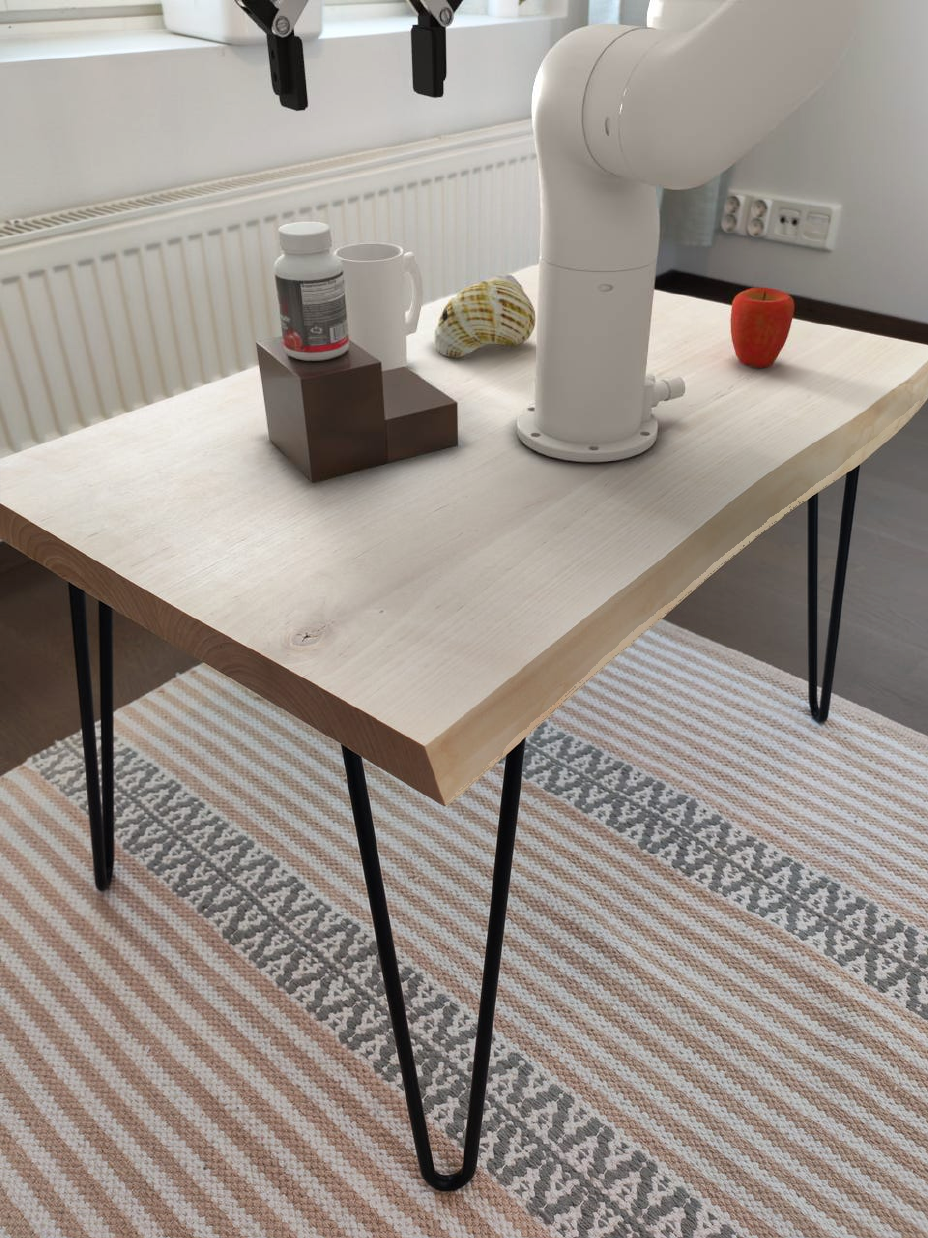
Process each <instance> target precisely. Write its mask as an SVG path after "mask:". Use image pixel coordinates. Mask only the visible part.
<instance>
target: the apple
mask: <svg viewBox="0 0 928 1238" xmlns="http://www.w3.org/2000/svg"><path fill="white" fill-rule="evenodd" d="M794 312H795V300H794V298H793V297H792V296H790V295H789V294H788V293H787V292H784V291H782V290H777V289H774V288H769V287H759V286H756V287H752V288H748V289H745V290H743V291H740V292H739V293H738V294H736V295H735V296H734V298H733V299H732V303H731V310H730V318H729V319H730V320H729V321H730V336H731V343H732V346H733V350H734V352H735V356H736V358H737V360H738V361H739V362H740V363H741V364H743V365H745V366H748V367H754V368H758V369H763V368H768V367H770V366H772V365H773V364H774V363H775V362H776V360H777V359H778V357H779V356H780V354H781V352H782V350H783V348H784V346H785V345H786V342H787V339H788V337H789V333H790V329H791V326H792V322H793V318H794Z"/></svg>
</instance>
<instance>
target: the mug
mask: <svg viewBox="0 0 928 1238" xmlns="http://www.w3.org/2000/svg"><path fill="white" fill-rule="evenodd" d="M404 252H405V250H404V248H403V247H401V246H400V245H397V244H392V243H387V242H361V243H360V242H359V243H358V242H357V243H353V244H347V245H343V246H341V247H339V248H337V249H335V250H334V252H333V253H334V254H336V255H337V256H338V257H339V258H340V260H341V261H342V265H343V275H344V282H345V283H344V286H345V300H346V311H347V323H348V336H349V340H351V341H352V342H353V343H355V344H356V345H358V346H359V347H361V348H362V349H363V350H365V351H366V352H368V353H369V354H370V355H372V356H373V357H375V358H376V359H378V360H379V361H380V362H381V365H382V371H386V370H391V369H396V368H400V367H406V368H408V365H407V360H408V359H407V336H409V335H411V334H412V335H413V334H415V333H416V332H417V330H418V324H419V320H420V315H421V310H422V304H423V297H424V296H423V295H424V286H423V279H422V275H421V274H422V273H421V272H420V269H419V267H418V264H417V261H416V258H415V257H416V256H415V253H414V252H413V251H412V252H411V251H407V252H406V253H404ZM405 273H407V274H408V277H409V278H410V282H411V286H412V297H411V303H410V307H409V310H408V312H407V314H406V274H405Z"/></svg>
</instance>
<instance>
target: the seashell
mask: <svg viewBox="0 0 928 1238" xmlns="http://www.w3.org/2000/svg"><path fill="white" fill-rule="evenodd" d="M535 326H536V310H535V307H534V305H533V303H532V301H531V299H530V298H529V296H528V295H527V294H526V293H525V291H524V288H523V286H522V284H520V282H519V281H518V280H517V278H515V277H514V276H513V275H512V274H508V273H507V274H500V275H493V276H492V277H489V278H488V279H487V280H485V281H481V282H478V283H475V284H472V285H470V286H468V287H466V288H465V289H463V290H462V291H460V292H459V293H458V294H457V295H456V296H454V297H452V298H451V299H449V301H448V303H447V304H446V305H445V306H444V308H443V310H442V311H441V314H440V316H439V318H438V321H437V324H436V326H435V330H434V344H435V350H436V352H437V353H438V354H440V355H443V356H444V357H445V356H446V357H449V358H461V357H464V356H466V355H468V354H471V353H472V352H474V351H476V350H477V349H479V348H481V347H485V346H486V345H499V346H505V347H514V346H518V345H520V344H523V343H524V342H525V341H527V340H528V339H529V338H530V337H531V335H532V334H533V331H534V329H535Z"/></svg>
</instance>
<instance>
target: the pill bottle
mask: <svg viewBox="0 0 928 1238" xmlns="http://www.w3.org/2000/svg"><path fill="white" fill-rule="evenodd" d="M277 231H278V232H277V233H278V245H279V247H280V249H281V251H283V254H282V255H280V256H278V258H277V259H276V260H275V262H274V267H273V271H274V277H275V278H274V280H275V281H274V282H275V288H276V294H277V295H276V296H277V303H278V311H279V319H280V327H281V328H280V329H281V336H282V337H283V343H284V350H285V352H286V353H287V354H288V355H289V356H290V357H293V358H295V359H299V360H305V361H322V360H328V359H332V358H335V357H338V356H340V355H342V354H344V353H345V352H346V351H347V350H348V348H349V336H348V323H347V311H346V300H345V286H344V283H345V282H344V275H343V265H342V261H341V260H340V258H339V257H338V256H337V255H336V254H334V252H332V251H330V249H331V248H332V246H333V240H332V234H331V228H330V226H329V224H327V223H324V222H318V221H297V222H291V223H286V224H284V225H281V226H280V227H279V228H278V230H277Z"/></svg>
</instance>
